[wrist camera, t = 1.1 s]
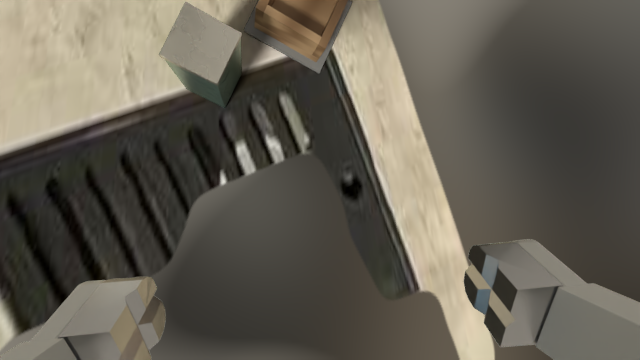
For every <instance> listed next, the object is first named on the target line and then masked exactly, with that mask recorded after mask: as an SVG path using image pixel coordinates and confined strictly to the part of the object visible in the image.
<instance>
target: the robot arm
mask: <svg viewBox="0 0 640 360" xmlns="http://www.w3.org/2000/svg"><path fill="white" fill-rule="evenodd" d="M468 259H469V260H470V261H471V263H472V265H471V266H470V267H469V268H468V269H467V270H466V271H465V276H464V286H465V292H466V294H467V296H468V299H469V301H470V302H471V304H472V305H473V307H474V308H475V309H477V310H478V311H480V312H481V313H483V314H485V318H484V324H485V325H486V327H487V328H488V330H489V331H490V333H491V334H492V336H493V337H494V339H495V340H496V342H497V343H498V345H499V346H500V347H510V346H521V345H535V344H536V347H537V348H539V349H540V350H541V351H543V352H544V353H546V354H547V355H548V356H550V357H551V358H552V359H554V360H640V302H637V301H635V300H632V299H630V298H628V297H625V296H623V295H621V294H618V293H616V292H613V291H611V290H609V289H606V288H604V287H601V286H599V285H597V284H594V283H593V284H587V283H586V282H585V281H583V280H582V279H581V278H580V277H579V276H577V275H576V274H575V273H574V272H573V271H572V270H570V269H569V268H568V267H567V266H565V265H564V264H563V263H562V262H561V261H560V260H558V259H557V258H556V257H555V256H554V255H553V254H551V253H550V252H549V251H548V250H547V249H545V248H544V247H543V246H542V245H541V244H540V243H538V242H537V241H535V240H532V239H525V240H517V241H511V242H503V243H492V244H482V245H473V246H472V247H471V249H470V251H469V255H468ZM156 289H157V287H156V285H155V282H154V280H153V278H150V277H134V278H120V279H107V280H98V281H86V282H84V283H82V284H80V285H78V286H77V287H76V288H75V290H74V291H73V292H72V293H71V294H70V295H69V297H68V298H67V299H66V300H65V301H64V302H63V303H62V305H61V306H60V307H59V308H58V309H57V310H56V312H55V313H54V314H53V315H52V316H51V317H50V318H49V320H48V321H47V322H46V323H45V324H44V325H43V327H42V328H41V329H40V330H39V331H38V332H37V333H36V335H35V336H34V337H33V338H32V339H31V340H30V341H29V342H22V343H20V344H19V345H17V346H15V347H14V348H12V349H11V350H9V351H7V352H6V353H4V354H3V355H1V356H0V360H151V355H150V352H149V350H150V349H151V348H152V347H153V346H154V345H155V344H157V343H158V342H159V341H160V338H161V336H162V333H163V331H164V326H165V320H166V315H165V308H164V305H163V302H162V301H161V300H159V299H158V298H157V297H155V296H154V293H155V291H156Z"/></svg>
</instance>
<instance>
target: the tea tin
mask: <svg viewBox="0 0 640 360" xmlns="http://www.w3.org/2000/svg"><path fill="white" fill-rule="evenodd" d="M241 37H242V33H241V32H239V31H237V30H235V29H233V28H232V27H230V26H228V25H226V24H225V23H223V22H221V21H219V20H217V19H216V18H214V17H212V16H210V15H209V14H207V13H205V12H203V11H201V10H200V9H198V8H196V7H194V6H192V5H191V4H189V3H187V2H185V3H184V5H183V7H182V9H181V11H180V13H179V15H178V17H177V19H176V21H175V23H174V25H173V27H172V29H171V31H170V33H169V35H168V37H167V39H166V41H165V43H164V45H163V47H162V49H161V51H160V53H159V55H160V57H161V58H163V59H165V61H166V62H167V63H168V65H169V66H170V67H171V69H172V70H173V71H174V73H175V74H176V75H177V77H178V78H179V79H180V81H181V82H182V83H183V85H184V86H185V87H186V89H188V90H190V91H192V92H194V93H196V94H198V95H200V96H202V97H204V98H206V99H208V100H210V101H212V102H214V103H216V104H218V105H220V106H222V107H224V108H225V107H226V105H227V103H228V101H229V99H230V97H231V95H232V93H233V91H234V89H235V86H236V84H237V82H238V80H239V78H240V76H241V74H242V67H241V41H240V40H241Z"/></svg>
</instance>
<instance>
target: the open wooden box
mask: <svg viewBox="0 0 640 360" xmlns="http://www.w3.org/2000/svg"><path fill="white" fill-rule="evenodd" d="M347 2H348V0H259V2H258V4H257V6H256V10H255V25H254V27H255V28H257V29H258V30H260V31H262V32H264V33H265V34H267V35H269V36H271V37H272V38H274V39H276V40H278V41H279V42H281V43H283V44H285V45H286V46H288V47H290V48H292V49H293V50H295V51H297V52H299V53H300V54H302V55H304V56H306V57H307V58H309V59H311V60H313V61H314V62H317V61H318V59H319V58H320V56H321V55H322V53H323V52H324V50H325V49H326V47H327V45H328V42H329V40H330V38H331V36H332V34H333V32H334V30H335V27H336V25H337V23H338V21H339V19H340V17H341V14H342V12H343V10H344V8H345V6H346V4H347Z"/></svg>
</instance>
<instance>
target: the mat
mask: <svg viewBox="0 0 640 360" xmlns="http://www.w3.org/2000/svg"><path fill="white" fill-rule="evenodd" d="M258 2H259V0H258ZM258 2H257V4H258ZM257 4H256V6H257ZM351 4H352V2H351V1H350V0H348V2H347V4H346V6H345V8H344V10H343V12H342V14H341V17H340V19H339V21H338V23H337V25H336V27H335V30H334V32H333V34H332V36H331V38H330V40H329V42H328V45H327V47H326V49H325V50H324V52H323V53H322V55H321V56H320V58H319V59H318V61H317V62H314V61H313V60H311V59H309V58H307V57H306V56H304V55H302V54H300V53H299V52H297V51H295V50H293V49H292V48H290V47H288V46H286V45H285V44H283V43H281V42H279V41H278V40H276V39H274V38H272V37H271V36H269V35H267V34H265V33H264V32H262V31H260V30H258V29H257V28H255V27H254V25H255V10H256V6H255V8H254V10H253V12H252V14H251V16H250V18H249V20H248V22H247V24H246V26H245V28H244V32H246V33H248V34H249V35H251V36H253V37H255V38H257V39H258V40H260V41H262V42H264V43H265V44H267V45H269V46H271V47H273V48H274V49H276V50H278V51H280V52H281V53H283V54H285V55H287V56H288V57H290V58H292V59H294V60H296V61H297V62H299V63H301V64H303V65H304V66H306V67H308V68H310V69H312V70H313V71H315V72H317V73H320V71H321V69H322V66H323V64H324V62H325V60H326V58H327V56H328V54H329V51H330V49H331V47H332V45H333V43H334V41H335V38H336V36H337V34H338V32H339V30H340V28H341V26H342V23H343V21H344V19H345V17H346V15H347V13H348V10H349V8H350V6H351Z"/></svg>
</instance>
